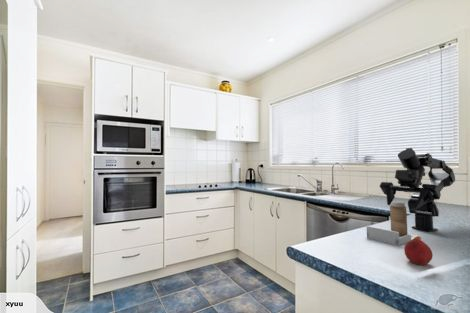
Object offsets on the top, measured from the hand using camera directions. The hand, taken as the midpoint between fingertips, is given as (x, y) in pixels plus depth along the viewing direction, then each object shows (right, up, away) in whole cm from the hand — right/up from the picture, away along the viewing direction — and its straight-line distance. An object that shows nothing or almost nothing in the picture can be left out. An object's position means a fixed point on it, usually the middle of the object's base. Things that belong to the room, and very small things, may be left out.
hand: (401, 206), depth 86 cm
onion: (-15, -10, -26) cm, 32 cm away
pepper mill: (-2, -10, -2) cm, 11 cm away
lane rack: (-6, -11, -4) cm, 13 cm away
